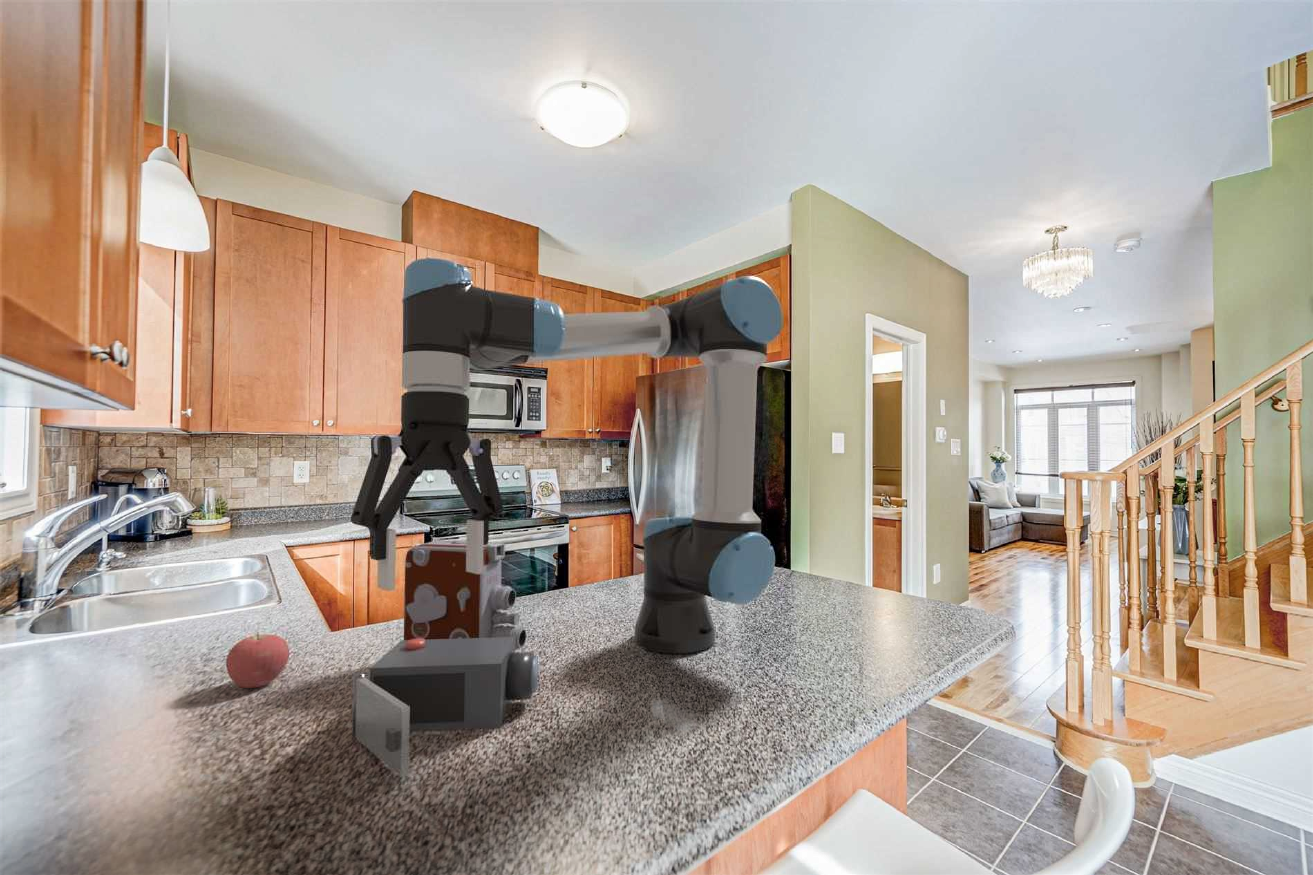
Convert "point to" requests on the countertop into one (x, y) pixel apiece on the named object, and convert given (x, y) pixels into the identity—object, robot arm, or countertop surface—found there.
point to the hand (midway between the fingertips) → (433, 579)
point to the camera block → (456, 680)
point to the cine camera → (457, 595)
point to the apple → (257, 660)
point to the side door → (381, 723)
